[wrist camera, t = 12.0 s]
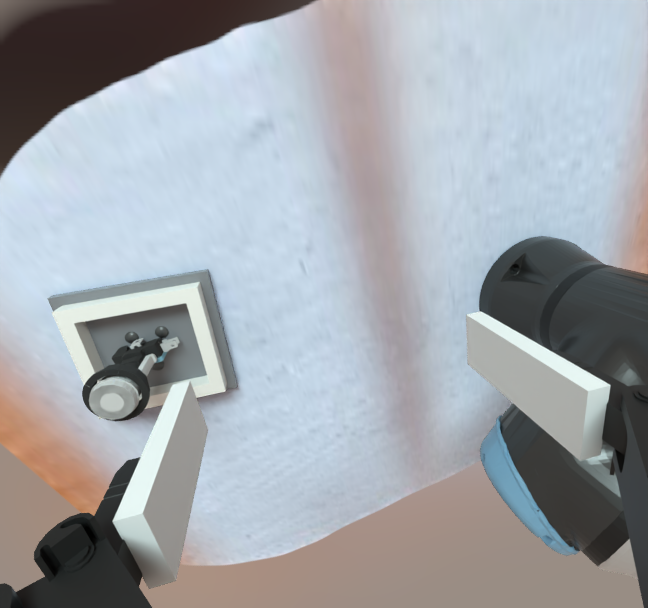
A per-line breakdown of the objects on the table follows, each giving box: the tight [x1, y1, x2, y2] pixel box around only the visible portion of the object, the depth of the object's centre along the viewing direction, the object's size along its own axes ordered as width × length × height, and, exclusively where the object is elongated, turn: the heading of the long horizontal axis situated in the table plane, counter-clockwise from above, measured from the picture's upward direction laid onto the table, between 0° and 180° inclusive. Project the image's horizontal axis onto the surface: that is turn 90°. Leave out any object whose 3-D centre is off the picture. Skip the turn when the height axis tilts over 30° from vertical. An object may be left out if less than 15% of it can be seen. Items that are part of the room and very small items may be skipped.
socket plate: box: [48, 269, 237, 419], centre depth 39 cm, size 16×15×3 cm
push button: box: [82, 337, 180, 421], centre depth 34 cm, size 7×5×10 cm
